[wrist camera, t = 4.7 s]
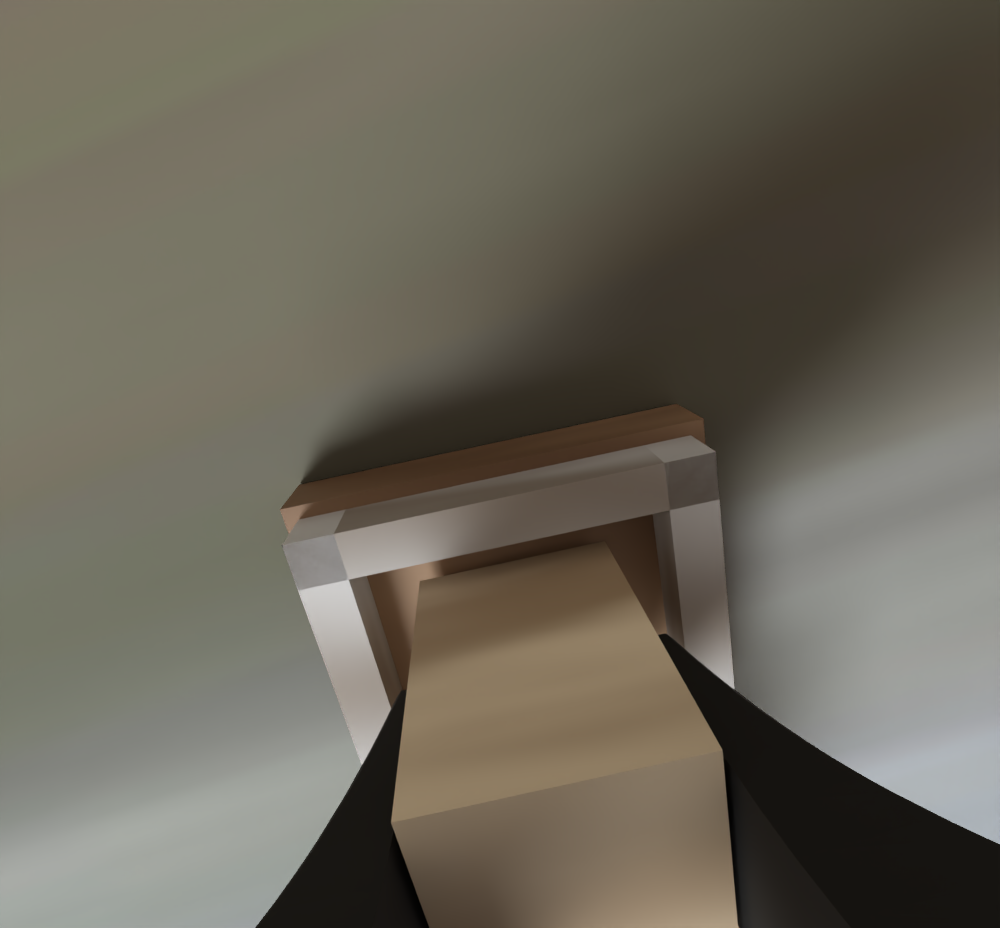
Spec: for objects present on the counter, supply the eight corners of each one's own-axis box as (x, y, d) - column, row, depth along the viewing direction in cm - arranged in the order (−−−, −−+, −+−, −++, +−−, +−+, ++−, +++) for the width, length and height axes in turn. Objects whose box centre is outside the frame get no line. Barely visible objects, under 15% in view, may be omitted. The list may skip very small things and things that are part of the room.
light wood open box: (723, 876, 18) (877, 1220, 11) (453, 936, 18) (450, 1317, 11) (676, 403, 13) (904, 529, 6) (299, 484, 13) (134, 697, 6)
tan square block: (419, 581, 12) (391, 823, 7) (604, 541, 12) (722, 750, 7) (466, 746, 13) (474, 1050, 8) (630, 710, 13) (743, 989, 8)
